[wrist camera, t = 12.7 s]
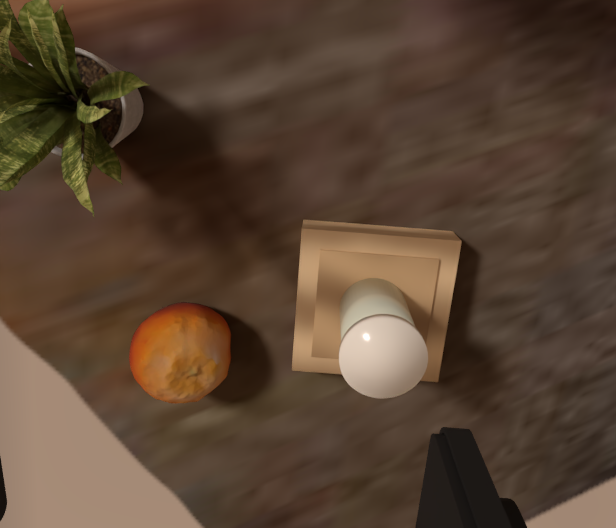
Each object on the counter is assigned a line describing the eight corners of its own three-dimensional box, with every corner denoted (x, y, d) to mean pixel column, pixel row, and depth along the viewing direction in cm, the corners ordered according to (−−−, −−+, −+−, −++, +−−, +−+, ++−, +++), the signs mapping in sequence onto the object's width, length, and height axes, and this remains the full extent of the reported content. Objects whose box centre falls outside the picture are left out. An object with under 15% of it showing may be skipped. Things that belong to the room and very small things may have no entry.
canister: (339, 272, 40) (343, 315, 32) (413, 278, 40) (434, 322, 32) (333, 339, 42) (335, 394, 34) (404, 344, 41) (421, 401, 34)
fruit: (125, 282, 43) (147, 329, 36) (216, 284, 47) (250, 326, 40) (113, 367, 45) (132, 425, 39) (200, 362, 49) (231, 413, 43)
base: (303, 219, 42) (301, 229, 39) (452, 231, 42) (462, 242, 39) (293, 353, 46) (291, 371, 43) (430, 364, 46) (438, 383, 42)
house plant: (-7, -19, 37) (-244, -101, 22) (184, -20, 37) (81, -105, 21) (26, 180, 42) (-153, 230, 26) (197, 181, 41) (120, 232, 26)
